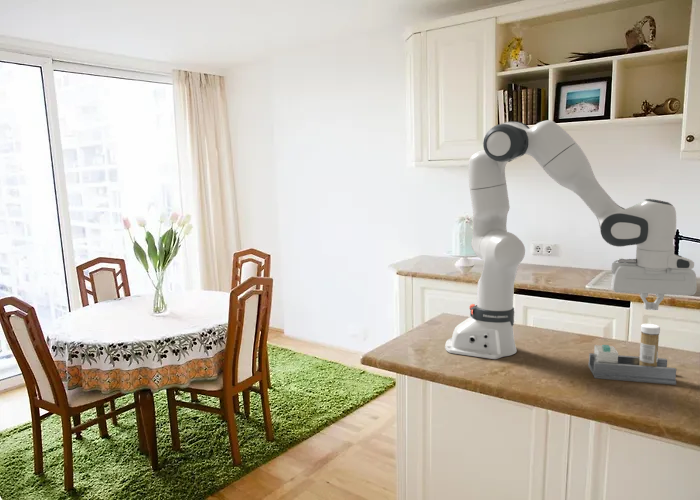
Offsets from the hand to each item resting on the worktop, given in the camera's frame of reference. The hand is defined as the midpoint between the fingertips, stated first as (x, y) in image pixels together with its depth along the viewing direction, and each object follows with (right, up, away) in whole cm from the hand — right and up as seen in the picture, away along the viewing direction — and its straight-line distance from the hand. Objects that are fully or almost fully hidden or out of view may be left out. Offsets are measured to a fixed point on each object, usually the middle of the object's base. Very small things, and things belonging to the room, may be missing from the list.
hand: (650, 309), depth 143 cm
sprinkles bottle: (+1, -18, +3) cm, 18 cm away
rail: (-4, -19, +4) cm, 20 cm away
